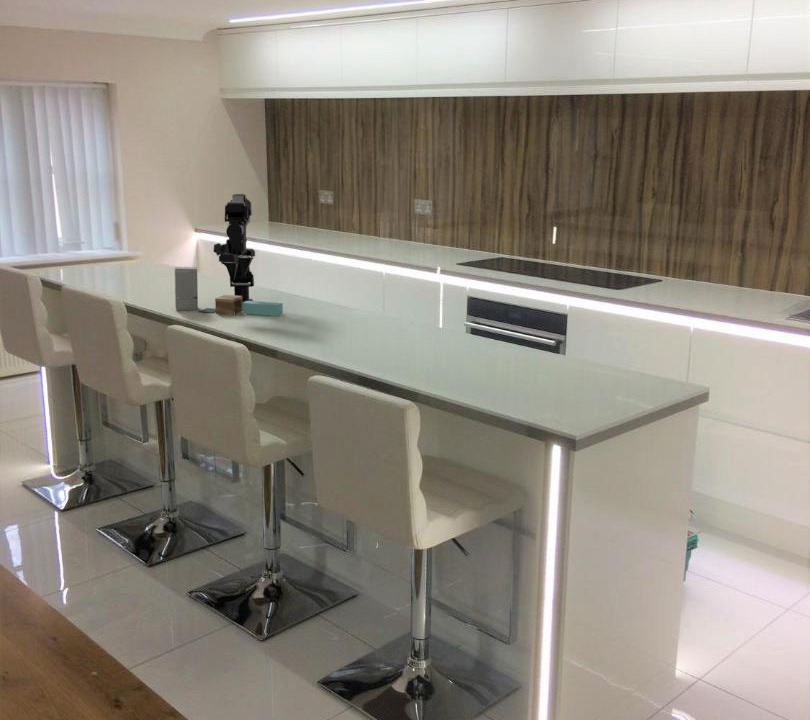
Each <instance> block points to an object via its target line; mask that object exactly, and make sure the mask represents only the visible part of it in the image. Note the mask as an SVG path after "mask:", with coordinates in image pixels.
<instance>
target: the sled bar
mask: <svg viewBox="0 0 810 720" xmlns="http://www.w3.org/2000/svg"><path fill="white" fill-rule="evenodd" d="M283 305H284V303H283V302H273V301H272V302H270V301H255V300H254V301H253V300H252V301H246V302H243V303H242V307H243V311H242V314H243V315H245V314H255V315H269V316H279V315H282V314H284V312H283V311H284V307H283ZM282 316H283V315H282Z"/></svg>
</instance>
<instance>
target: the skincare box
mask: <svg viewBox="0 0 810 720" xmlns="http://www.w3.org/2000/svg"><path fill="white" fill-rule="evenodd" d="M198 286H199V285H198V268H197V267H196V266H174V295H175V298H174V300H175V301H174V302H175V303H174V304H175V310H176V311H195V310H196V311H198V310H199V305H198V304H199V301H198V299H199V298H198V297H199V296H198V294H199V293H198Z"/></svg>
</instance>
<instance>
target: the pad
mask: <svg viewBox="0 0 810 720" xmlns="http://www.w3.org/2000/svg"><path fill="white" fill-rule="evenodd" d="M284 315H285V313H283V314H282V315H279V316H269V315H255V314H243V315H242V316H243V317H251V318H252V317H253V318H262V319H263V318H264V319H278V318H280V317H282V316H284Z"/></svg>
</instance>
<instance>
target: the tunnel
mask: <svg viewBox="0 0 810 720" xmlns="http://www.w3.org/2000/svg"><path fill="white" fill-rule="evenodd" d="M214 301H215V302H214V303H215V309H216V312H215V315H226V316H227V315H228V316H234V315H235V313H236V312H239V313H241V312H242V313H243V307H242V303H243V302H242V296H236V295H234V294H223V295H222V296H218V297H216V298H214Z"/></svg>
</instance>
